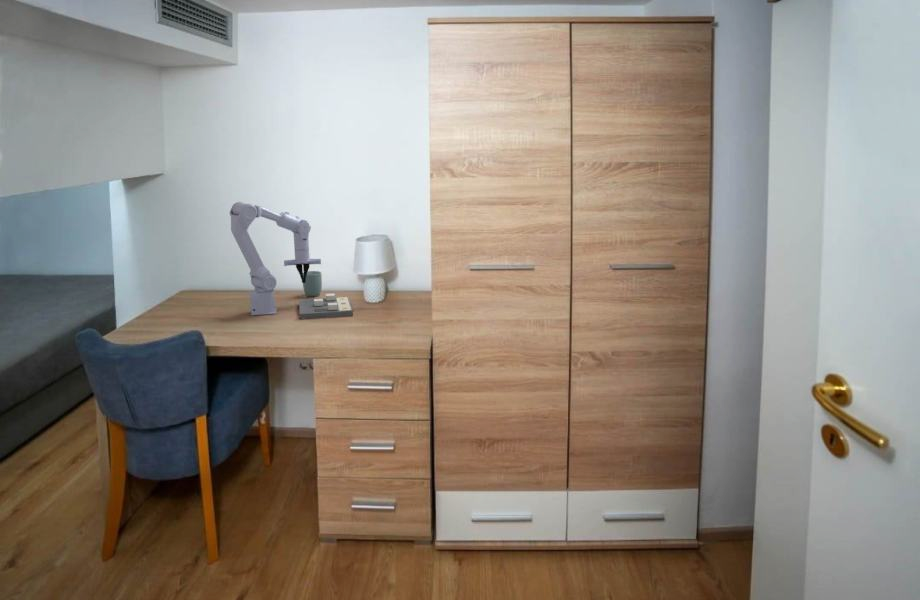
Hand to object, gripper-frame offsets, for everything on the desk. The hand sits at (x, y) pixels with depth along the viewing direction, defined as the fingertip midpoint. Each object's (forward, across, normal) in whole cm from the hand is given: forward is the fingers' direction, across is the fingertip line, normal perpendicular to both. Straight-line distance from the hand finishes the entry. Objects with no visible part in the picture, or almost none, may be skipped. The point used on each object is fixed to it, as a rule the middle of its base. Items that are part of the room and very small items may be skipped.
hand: (303, 282), depth 328 cm
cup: (+10, -3, -15) cm, 18 cm away
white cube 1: (+7, -11, +19) cm, 23 cm away
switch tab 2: (+7, -10, +3) cm, 13 cm away
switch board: (+9, -8, +11) cm, 16 cm away
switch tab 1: (+7, -5, +11) cm, 14 cm away
